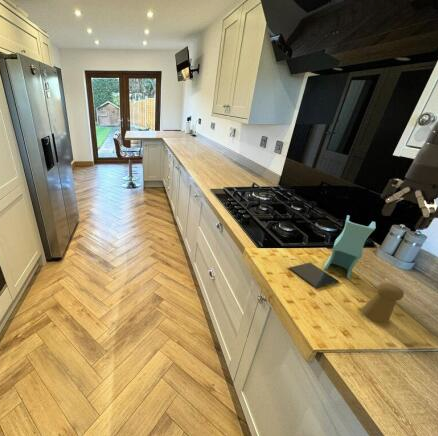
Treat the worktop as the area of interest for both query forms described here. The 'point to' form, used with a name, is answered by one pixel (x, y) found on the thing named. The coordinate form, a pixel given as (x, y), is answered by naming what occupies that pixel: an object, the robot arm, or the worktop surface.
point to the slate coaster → (313, 275)
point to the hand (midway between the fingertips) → (401, 221)
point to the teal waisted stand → (350, 245)
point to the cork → (383, 303)
